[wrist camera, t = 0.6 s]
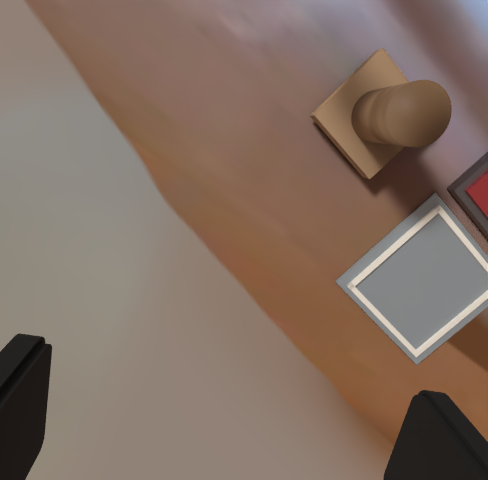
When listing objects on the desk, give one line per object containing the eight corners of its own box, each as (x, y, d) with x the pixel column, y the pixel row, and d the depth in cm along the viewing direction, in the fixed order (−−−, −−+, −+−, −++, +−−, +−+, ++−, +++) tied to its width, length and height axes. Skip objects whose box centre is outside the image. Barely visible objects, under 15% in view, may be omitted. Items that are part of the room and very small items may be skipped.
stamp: (371, 53, 33) (431, 26, 24) (421, 118, 34) (495, 115, 25) (307, 116, 34) (342, 112, 25) (359, 175, 35) (409, 193, 26)
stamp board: (434, 192, 36) (437, 193, 36) (510, 285, 39) (514, 287, 39) (335, 281, 38) (336, 283, 37) (415, 363, 41) (418, 366, 41)
